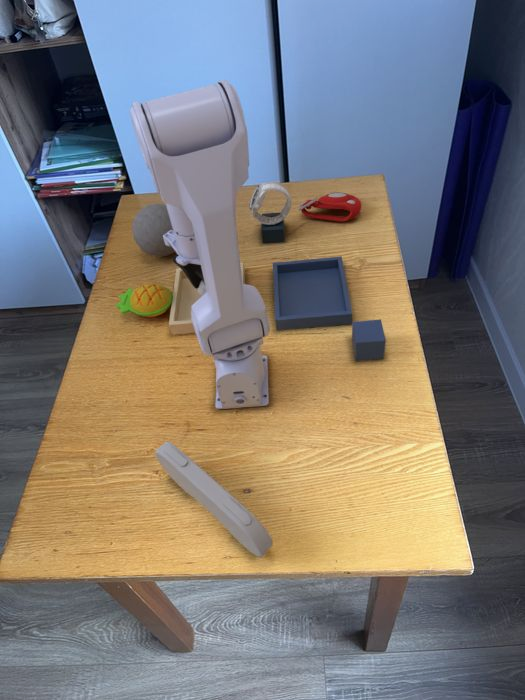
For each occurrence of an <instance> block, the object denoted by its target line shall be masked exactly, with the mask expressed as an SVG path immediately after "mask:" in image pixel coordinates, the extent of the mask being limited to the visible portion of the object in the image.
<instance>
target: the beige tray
mask: <svg viewBox="0 0 525 700" xmlns="http://www.w3.org/2000/svg"><path fill="white" fill-rule="evenodd" d="M240 266H241V276H242V284H246V269H245V263H244V261H240ZM174 276H175V277H174V283H173V291H172V296H173V298H172V302H171V304H170V312H169V320H168V327H169V330H170V332H171V335H173V336H174V335H186V334H196V333H195V330H194V326H193V323H192V320H191V317H192V315H191V311H192V308H191V306H192V305H193V304H194V303H195V302H196V301H197V300H198V299H200V298H201V297H202V295H201V294H200V293H199V292H198V289H199V287H198V288H197V289H196V288H194V287H193V285H192V284H191V282H190V280H189V279H188V277H187V276H186V274H185V273H184V272H183V270H182V269H181V268H180V267H176V269H175V275H174Z"/></svg>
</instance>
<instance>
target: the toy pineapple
mask: <svg viewBox="0 0 525 700" xmlns="http://www.w3.org/2000/svg"><path fill="white" fill-rule="evenodd" d="M118 298H119V299H120V300H121V301H120V302H118V303H116V304H115V307H116V308H117V309H120V313H121V314H122V315H125V314H127V313H130V312H132V313H134V314H136V315H139V316H141V317H145V318H153V317H157V316H161V315H163V314H164V313H165V312H166V311H168V310H169V308H170V307H171V305H172V298H173V292H172V291H171V290H170V289H169V288H168V287H165V286H163V285H161V284H158V283H146V284H143V285H140V286H138V287H137V288H135V289H132V288H128V289H127V290H126V292H124V293H121V294H119V295H118Z"/></svg>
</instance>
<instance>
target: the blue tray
mask: <svg viewBox="0 0 525 700" xmlns="http://www.w3.org/2000/svg"><path fill="white" fill-rule="evenodd" d="M272 278H273V279H272V280H273V281H272V282H273V299H274V301H273V302H274V319H275V320H274V321H275V327H276V331H285V330H298V329H309V328H323V327H333V326H334V327H335V326H345V325H346V326H347V325H352V323H353V310H352V304H351V299H350V294H349V288H348V283H347V278H346V272H345V266H344V261H343V257H342V256H332V257H331V256H330V257H319V258H309V259H298V260H287V261H277V262H272Z"/></svg>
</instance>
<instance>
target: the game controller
mask: <svg viewBox="0 0 525 700" xmlns="http://www.w3.org/2000/svg"><path fill="white" fill-rule="evenodd" d="M154 456H155V458H156V460H157V461H158V463H159V464H160V466H161V467H162V469H164V471H165V472H166V473H167V474H168V476H169V477H170V478H171V479H172V480H173V481H174V482H175V483H176V484H177V485H178V486H179V487H180V489H182V490H183V491H184V492H186V493H187V494H188V495H189V496H191V497H192V498H193V499H194V500H196V501H197V503H198V504H200V505H201V506H202V507H203V509H205V510H206V511H207V512H208V513H209V514H211V515H212V517H214V518H215V519H216V520H217V521H218V522H219V523H220V524H221V525H222V526H223V527H224V528H225V529H226V530H227V532H229V533H230V535H232V536H233V538H234V539H235V540H237V541H238V543H240V544H241V546H243V547H244V548H245V549H246V550H247V551H248V552H250V553H251V554H253V555H254V556H256V557H258V558H263V557H264V556H265V555H266V553H267V552H268V551H269V550H270V549H271V548H272V547H273V545H274V542H273V539H272V536H271V535H270V533H269V532H268V530H267V529H266V527H265V526H264V525H263V524H262V523H261V522H260V520H259V519H258V518H257V517H256V516H255V515H254V514H253V513H252V512H251V511H250V510H249V509H248V508H247V507H246V506H245V505H244V504H242V503H241V501H239V500H238V499H237V498H235V496H233V494H231V493H230V492H229V491H228V490H226V488H224V487H223V486H222V485H221V484H220V483H218V482H217V481H216V480H215V479H214V478H213V477H212V476H211V475H210V474H209V473H207V472H206V471H205V470H204V469H203V468H201V466H199V464H197V463H196V462H195V461H194V460H193V459H191V458H190V457H189V456H188V455H187V454H186V453H185V452H183V451H182V450H181V449H180V448H179V447H178V446H176V445H175V444H174V443H172V442H171V441H165V442H164V443H162V445H160V446H159V447H158V448H157V449H156V450H155V451H154Z"/></svg>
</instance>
